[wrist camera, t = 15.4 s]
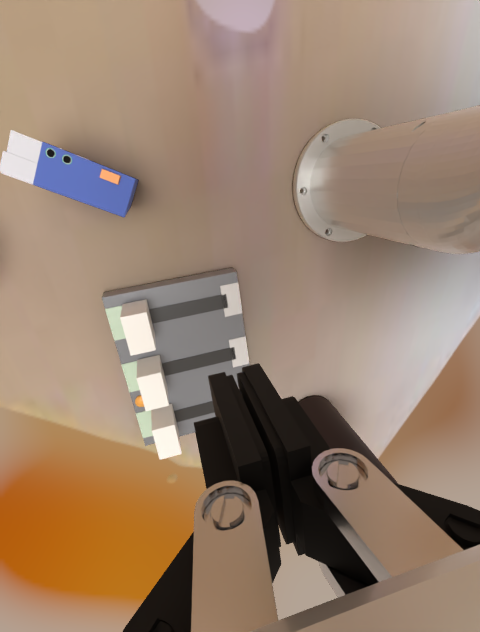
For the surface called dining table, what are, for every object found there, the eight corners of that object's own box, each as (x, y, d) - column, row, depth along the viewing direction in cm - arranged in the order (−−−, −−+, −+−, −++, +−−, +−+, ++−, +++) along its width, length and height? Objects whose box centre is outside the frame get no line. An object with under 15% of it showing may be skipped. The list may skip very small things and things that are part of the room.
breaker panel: (232, 267, 40) (237, 272, 38) (252, 406, 47) (257, 417, 45) (103, 292, 38) (101, 298, 36) (145, 434, 45) (145, 447, 43)
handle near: (146, 299, 37) (146, 312, 33) (154, 334, 38) (155, 350, 35) (122, 303, 36) (120, 317, 33) (132, 339, 38) (130, 355, 34)
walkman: (138, 179, 35) (135, 178, 24) (130, 207, 36) (123, 218, 25) (51, 144, 32) (3, 125, 21) (44, 175, 33) (-6, 171, 22)
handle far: (171, 403, 42) (174, 424, 38) (178, 430, 43) (181, 453, 40) (151, 408, 41) (151, 430, 38) (158, 436, 43) (159, 459, 39)
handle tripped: (159, 354, 39) (160, 372, 36) (167, 385, 41) (169, 405, 37) (137, 359, 39) (136, 378, 35) (145, 390, 40) (145, 411, 37)
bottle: (329, 388, 49) (436, 508, 31) (334, 426, 52) (436, 557, 34) (283, 404, 48) (366, 537, 30) (291, 442, 51) (372, 585, 33)
